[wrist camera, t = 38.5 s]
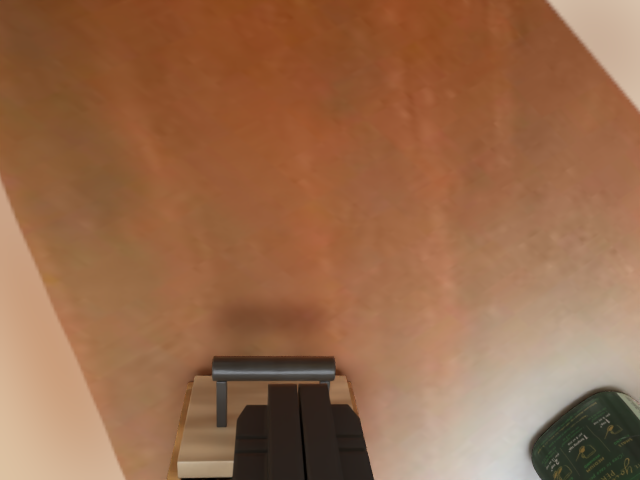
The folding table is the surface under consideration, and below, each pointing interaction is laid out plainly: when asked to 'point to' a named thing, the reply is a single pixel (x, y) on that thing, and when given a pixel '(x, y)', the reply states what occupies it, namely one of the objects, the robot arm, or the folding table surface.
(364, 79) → the folding table surface
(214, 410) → the drawer
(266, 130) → the folding table surface
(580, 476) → the coffee jar
